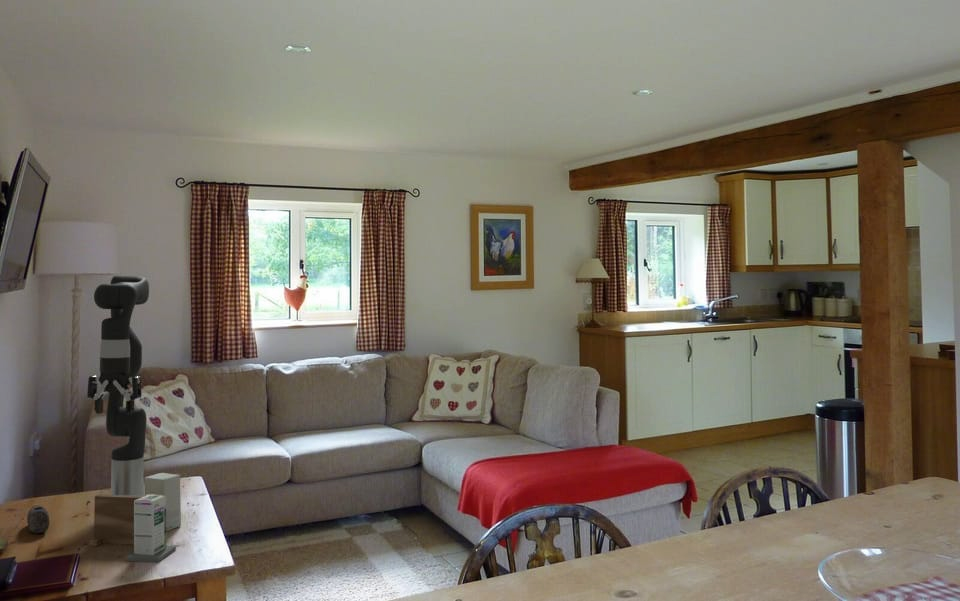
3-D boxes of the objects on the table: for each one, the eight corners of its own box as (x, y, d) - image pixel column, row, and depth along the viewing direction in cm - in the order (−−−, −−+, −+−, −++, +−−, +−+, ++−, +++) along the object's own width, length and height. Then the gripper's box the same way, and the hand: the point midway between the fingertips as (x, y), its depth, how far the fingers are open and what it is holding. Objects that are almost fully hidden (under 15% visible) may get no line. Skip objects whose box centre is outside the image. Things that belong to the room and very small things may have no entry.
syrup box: (153, 556, 185) (154, 500, 185) (132, 554, 186) (133, 499, 186) (166, 548, 191) (167, 494, 191) (146, 547, 192) (147, 493, 192)
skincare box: (181, 526, 212) (182, 474, 212) (163, 533, 206) (164, 479, 206) (161, 522, 215) (162, 471, 215) (142, 528, 209) (143, 476, 209)
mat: (143, 548, 193) (143, 545, 193) (175, 549, 192) (175, 546, 192) (125, 560, 184) (125, 557, 184) (158, 562, 183) (158, 558, 183)
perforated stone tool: (25, 524, 212) (25, 501, 212) (45, 521, 216) (46, 498, 216) (28, 538, 200) (28, 513, 200) (50, 534, 203) (50, 510, 203)
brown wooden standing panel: (102, 538, 201) (103, 492, 201) (163, 540, 200) (164, 494, 200) (89, 545, 195) (90, 498, 195) (152, 547, 194) (153, 500, 194)
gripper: (147, 355, 200) (146, 412, 200) (98, 354, 201) (97, 410, 201) (132, 357, 193) (131, 416, 193) (82, 356, 194) (81, 415, 194)
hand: (114, 413), depth 197 cm, fingers open, 8 cm apart
